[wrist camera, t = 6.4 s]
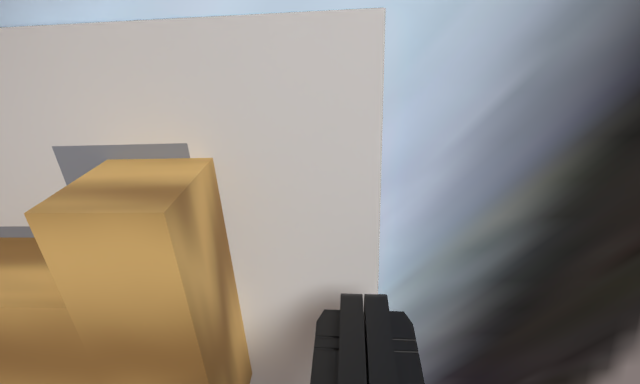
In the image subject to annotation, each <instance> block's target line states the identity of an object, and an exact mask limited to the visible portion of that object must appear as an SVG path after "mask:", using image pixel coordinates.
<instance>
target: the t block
mask: <svg viewBox="0 0 640 384" xmlns="http://www.w3.org/2000/svg"><path fill="white" fill-rule="evenodd" d="M24 215H25V217H26V220H27V222H28V224H29V226H30V228H31V231H32V233H33V235H34V237H35V238H2V237H0V384H250V381H251V377H252V369H251V364H250V358H249V353H248V347H247V342H246V336H245V331H244V325H243V320H242V315H241V309H240V304H239V298H238V293H237V287H236V282H235V276H234V271H233V265H232V260H231V254H230V249H229V244H228V238H227V233H226V227H225V222H224V216H223V211H222V205H221V200H220V194H219V189H218V183H217V178H216V173H215V167H214V162H213V158H168V159H109V160H106V161H104V162H103V163H101V164H100V165H98V166H96V167H95V168H93V169H92V170H90V171H89V172H87V173H86V174H84V175H83V176H81V177H79V178H78V179H76V180H75V181H73V182H72V183H70V184H69V185H67V186H65V187H64V188H62V189H61V190H59V191H58V192H56V193H55V194H53V195H51V196H50V197H48V198H47V199H45V200H44V201H42V202H41V203H39V204H37V205H36V206H34V207H33V208H31V209H30V210H28V211H27V212H25V213H24Z"/></svg>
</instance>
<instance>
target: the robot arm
mask: <svg viewBox="0 0 640 384" xmlns="http://www.w3.org/2000/svg"><path fill="white" fill-rule="evenodd" d="M310 384H425V383H424V378H423V373H422V368H421V363H420V358H419V354H418V347H417V342H416V337H415V332H414V327H413V324H412V322H411V321H410V320H409V318H408V317H407V315H406V314H405V313H404V312H398V311H389V306H388V298H387V295H386V294H364V312H363V294H346V293H341V298H340V310H328V309H324V311H323V312H322V314H321V315H320V317H319V318H318V320H317V322H316V332H315V341H314V351H313V360H312V370H311V380H310Z"/></svg>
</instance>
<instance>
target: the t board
mask: <svg viewBox="0 0 640 384" xmlns="http://www.w3.org/2000/svg"><path fill="white" fill-rule="evenodd" d="M384 46H385V8H364V9H345V10H326V11H307V12H288V13H268V14H249V15H230V16H211V17H192V18H172V19H153V20H134V21H115V22H96V23H77V24H57V25H38V26H19V27H0V237H2V238H35V237H34V235H33V233H32V231H31V228H30V226H29V224H28V222H27V220H26V217H25V215H24V213H25V212H27V211H28V210H30V209H31V208H33V207H34V206H36V205H37V204H39V203H41V202H42V201H44V200H45V199H47V198H48V197H50V196H51V195H53V194H55V193H56V192H58V191H59V190H61V189H62V188H64V187H65V186H67V185H69V184H70V183H72V182H73V181H75V180H76V179H78V178H79V177H81V176H83V175H84V174H86V173H87V172H89V171H90V170H92V169H93V168H95V167H96V166H98V165H100V164H101V163H103V162H104V161H106V160H109V159H168V158H213V162H214V167H215V173H216V178H217V183H218V189H219V194H220V200H221V205H222V211H223V216H224V222H225V227H226V233H227V238H228V244H229V249H230V254H231V260H232V265H233V271H234V276H235V282H236V287H237V293H238V298H239V304H240V309H241V315H242V320H243V325H244V331H245V336H246V342H247V347H248V353H249V358H250V364H251V369H252V377H251V381H250V384H310V380H311V370H312V360H313V351H314V341H315V332H316V322H317V320H318V318H319V317H320V315H321V314H322V312H323V311H324V309H328V310H340V298H341V293H346V294H363V312H364V294H378V272H379V234H380V197H381V159H382V121H383V83H384Z"/></svg>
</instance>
